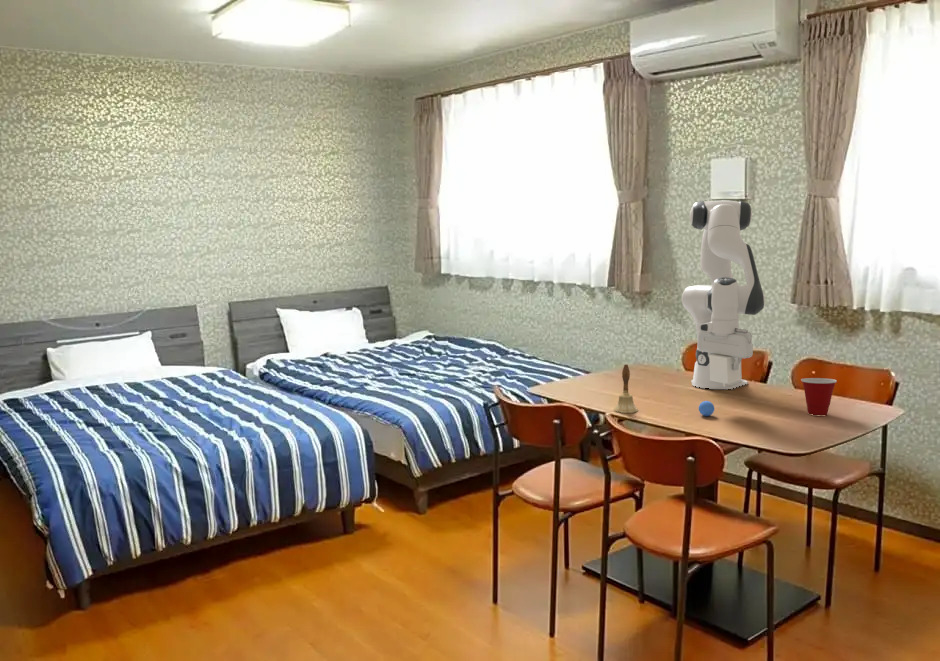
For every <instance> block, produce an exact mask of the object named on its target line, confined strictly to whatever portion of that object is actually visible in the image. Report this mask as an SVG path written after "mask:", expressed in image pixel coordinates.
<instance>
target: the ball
mask: <svg viewBox="0 0 940 661" xmlns="http://www.w3.org/2000/svg"><path fill="white" fill-rule="evenodd" d="M698 411H699V413H700V415H702V416H704V417H710V416H711V415H713V414H714V411H715V405H714V404H713V403H712V402H711V401H709V400H704V401H703V400H702V402H700V403H699V405H698Z"/></svg>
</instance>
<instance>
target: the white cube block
mask: <svg viewBox="0 0 940 661" xmlns="http://www.w3.org/2000/svg"><path fill="white" fill-rule="evenodd" d="M709 361H710V381H715V382H720V383H725V384H729V383H732V382H735V381H738V380H741V379H742V378H743V377H742V361H741V362H740V364H739V369H738V370H732V364H734V363H735V361H736V360H734V357H733V356H727V355H721V354H712V355H709Z"/></svg>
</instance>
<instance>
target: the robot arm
mask: <svg viewBox="0 0 940 661" xmlns="http://www.w3.org/2000/svg"><path fill="white" fill-rule="evenodd" d="M752 220H753V211H752V207H751V205H750V203H749V202H748V201H743V200H739V201H736V200H728V199H722V200H706V201H704V200H700V201H696V202H694V203H693V204H692V206H691V208H690V211H689V222H690V224H691V226H692V227H693V228H694V229H697V230H703V232H702V238H701V248H700V265H699V266H700V267H699V268H700V271H701V272H702V273H704V275H706V276H708V278H709V280H710V283H711V285H710V284H709V285H708V284H695V285H691V286H687V287H686V288H685V289H684V291H683V292H682V295H681V304H682V306H683V308H684V309H685V310H686V311H687V312H688V313H689V314H690V315H691V317H692V319H693V322H694V323H695V328H696V336H697V337H696V339H697V341H696V342H697V348H696V349H695V359H696V361H695V362H694V369H693V377H692V378H693V379H691V380H690V382H691V386H693V387H695V386H696V387H695V388H699V387H700V388H699V389H705V388H709V389H708V390H728V389H731V390H734V389H737V388H739V386H740V387H743V386H746V385H748V384H749V382H748V380H746V379H741V380H738V381H735V382H732V383H729V384H725V383H720V382H715V381H710V361H709V355H712V354H721V355H727V356H733V357H734V360H736V361H735V363H734V364H732V370H738V369H739V364H740V362H741V363H742V360H743V359H750V358H752V356H753V354H754V353H753V352H754V350H753V349H754V348H753V346H754V345H753V341H752V339H753V338H752V333H751V332H750V331H749V330H748V329H741V328H740V317H739V316H740V315H741V314H742V315H753V316H755V315H757V314H758V313H760V312H762V310H763V309H764V307H765V304H766V303H765V302H766V298H765V293H764V291H763V288H762V285H761V281H760V278H759V272H758V270H757V265H756V261H755V260H756V259H755V257H754V253H753V250H752V248H751V246H750V245H749V244H747V243H745V242H744V240H743V238H742V236H741V231H743V230H746V229H747V228H748V227H749V226H750V223H751V222H752ZM732 262H733V263H735V264H738V265H740V267H741V268H742V269H743V273H744V274H743V275H744V276H745V277H744V278H745V282H746V284H743V285H741V284H740V285H738V284H739V283H738V281H737V279H736V278H734V276H733V272H732ZM745 384H746V385H745ZM742 385H743V386H742ZM736 387H737V388H736ZM733 388H734V389H733Z"/></svg>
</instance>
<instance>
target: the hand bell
mask: <svg viewBox="0 0 940 661" xmlns="http://www.w3.org/2000/svg"><path fill="white" fill-rule="evenodd" d="M630 372H631V371H630V367H629V364H625V363H624V364H623V368H622V372H621V375H622V376H621V377H622V382H623V392H622V393H621V394H619V396H618V401H617V404H616V406H615V407H614V408H613V411H614V410H615V411H617V412H616V413H619V412H621V414H633V413H637V412H639V409H638V408H637V406H636V405H635V403H634V399H633V394H631V393H629V380H630V377H631V376H630V375H631V373H630ZM615 411H614V412H615Z"/></svg>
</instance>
